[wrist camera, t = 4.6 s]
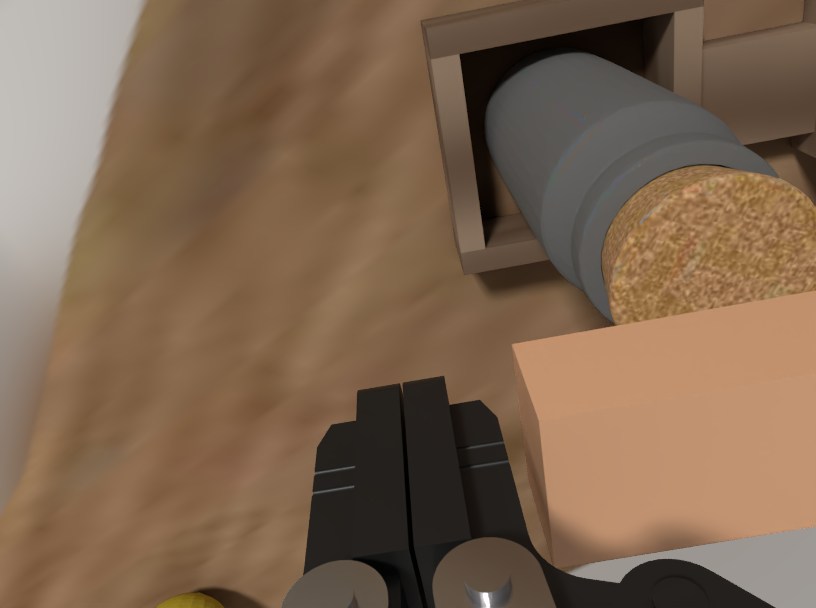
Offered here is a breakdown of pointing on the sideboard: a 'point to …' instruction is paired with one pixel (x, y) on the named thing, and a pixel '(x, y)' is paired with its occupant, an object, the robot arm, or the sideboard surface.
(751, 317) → the bar
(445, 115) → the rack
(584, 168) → the bottle
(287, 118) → the sideboard surface
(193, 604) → the lemon
